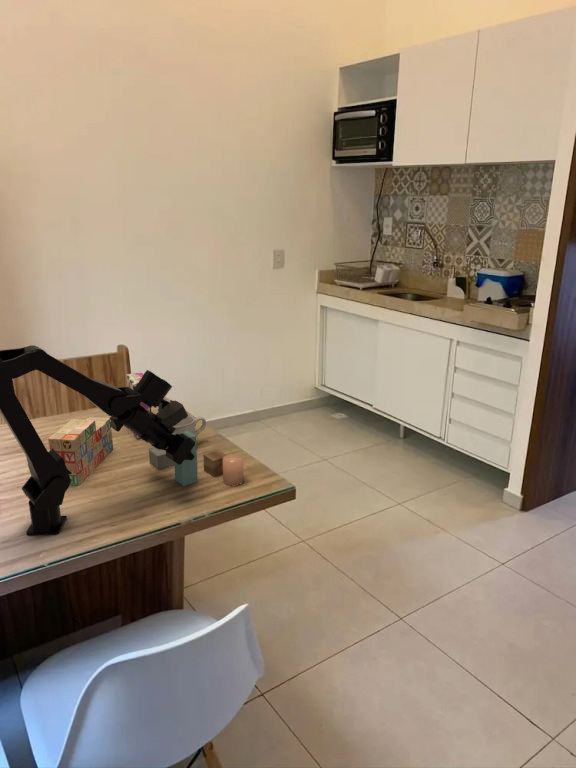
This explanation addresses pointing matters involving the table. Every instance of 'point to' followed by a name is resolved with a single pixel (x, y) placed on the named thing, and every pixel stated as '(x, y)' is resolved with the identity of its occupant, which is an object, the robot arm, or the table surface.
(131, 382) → the candy bar box
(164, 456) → the gray block
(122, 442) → the table surface
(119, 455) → the table surface
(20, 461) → the table surface
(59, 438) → the stack of blocks
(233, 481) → the peach rounded cylinder
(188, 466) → the teal block
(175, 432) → the teacup
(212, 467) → the walnut cube
